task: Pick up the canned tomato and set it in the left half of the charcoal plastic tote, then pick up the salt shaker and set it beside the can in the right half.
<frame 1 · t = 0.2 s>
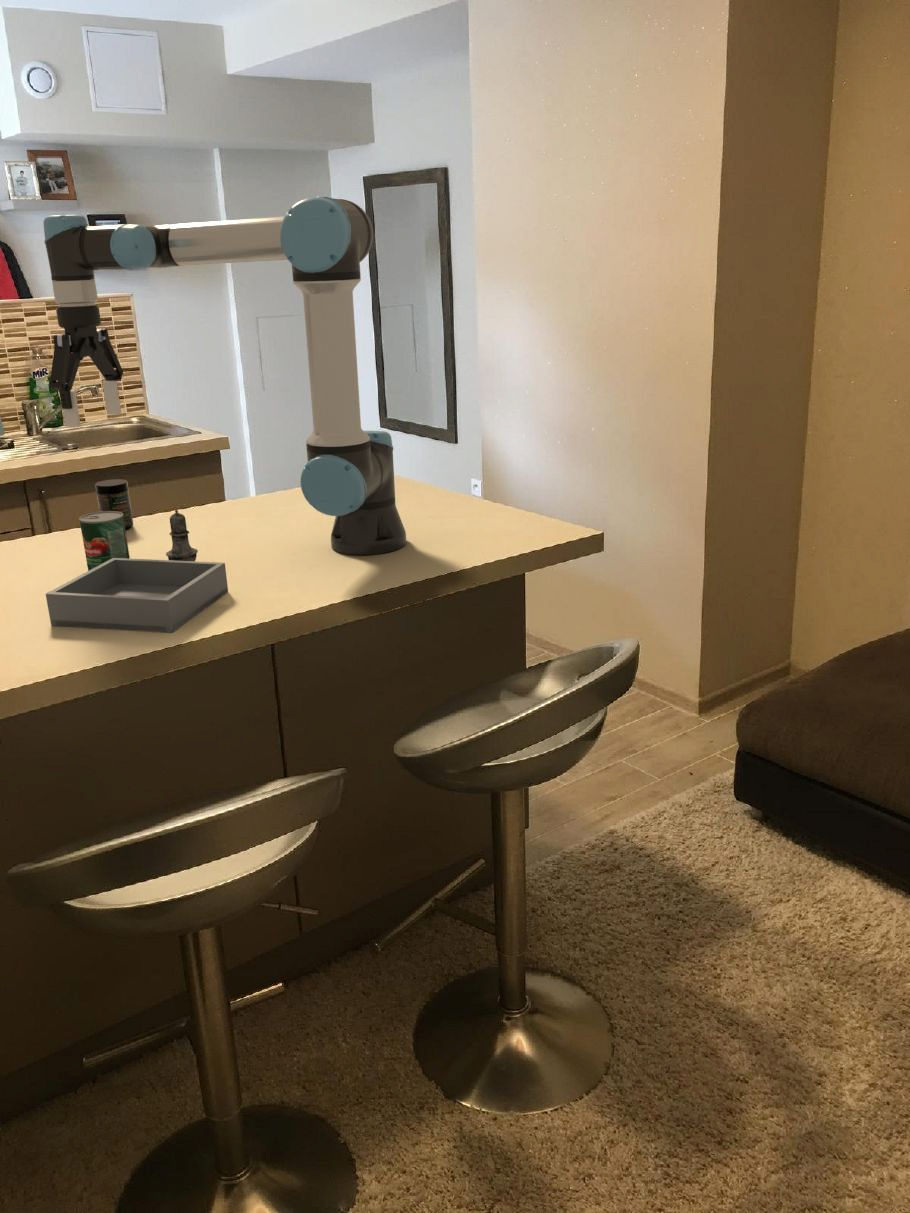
hand: (94, 420, 194), 27 cm above the countertop, fingers open, 13 cm apart
canned tomato: (110, 573, 193), on the countertop
tote: (143, 608, 173), on the countertop
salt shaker: (184, 571, 193), on the countertop
supplement container: (118, 529, 223), on the countertop
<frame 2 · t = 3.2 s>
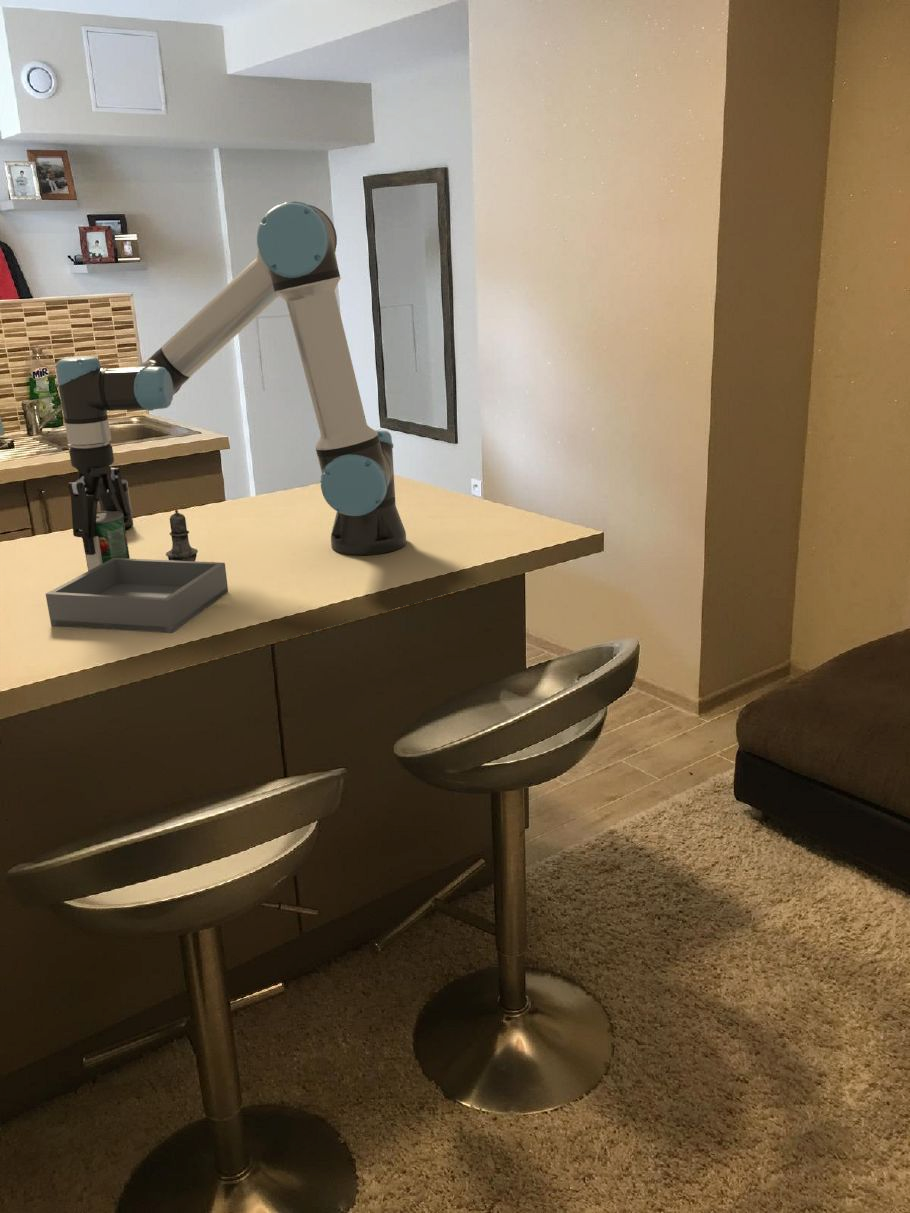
hand: (108, 563, 192), 2 cm above the countertop, fingers closed on canned tomato, 8 cm apart
canned tomato: (110, 572, 193), on the countertop, touching gripper
everything else where it was.
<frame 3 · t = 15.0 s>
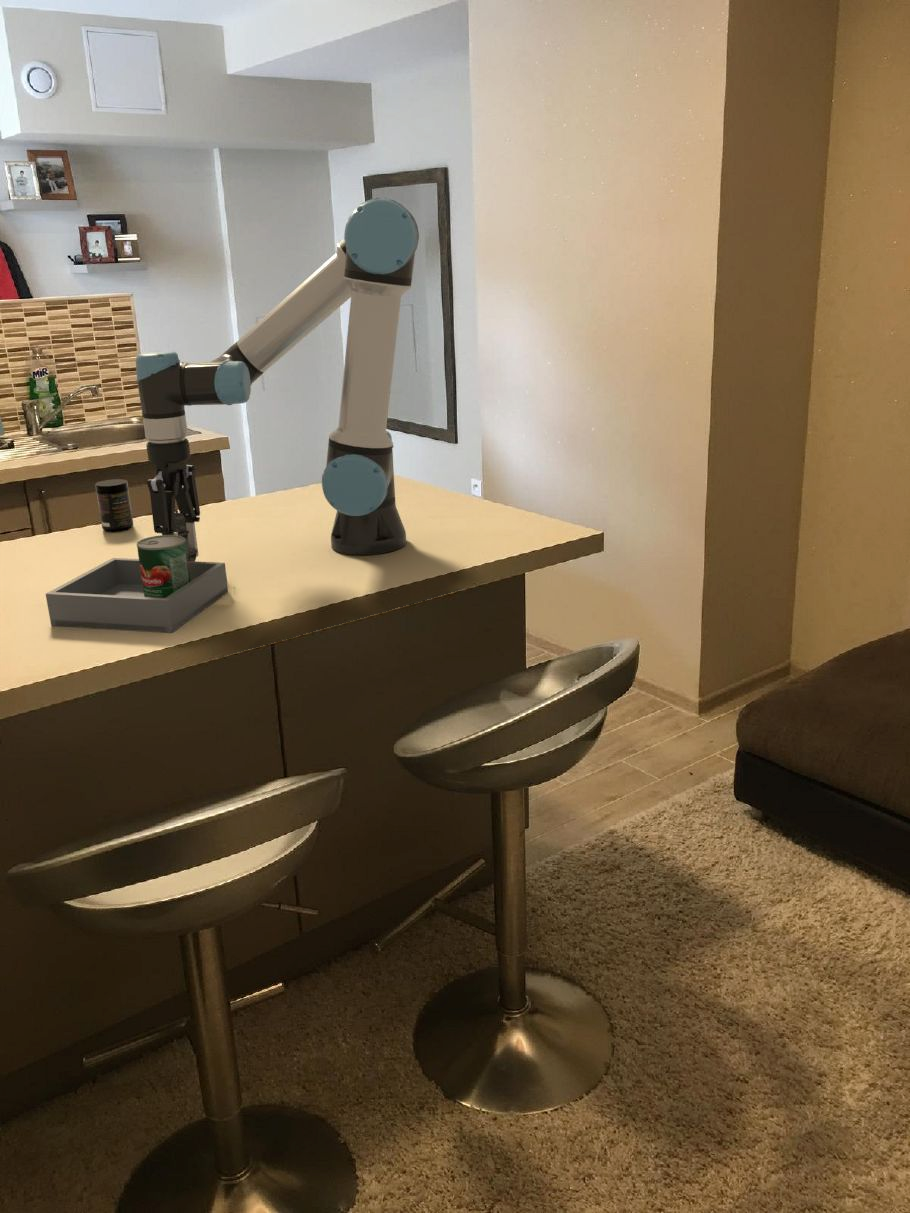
hand: (183, 560, 192), 2 cm above the countertop, fingers closed on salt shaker, 6 cm apart
canned tomato: (169, 604, 171), point 1 cm above the countertop, touching tote
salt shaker: (184, 571, 193), on the countertop, touching gripper
everything else where it was.
when the fingers open (5 cm above the countertop, at t = 21.1 s): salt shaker drops 2 cm, resting on tote.
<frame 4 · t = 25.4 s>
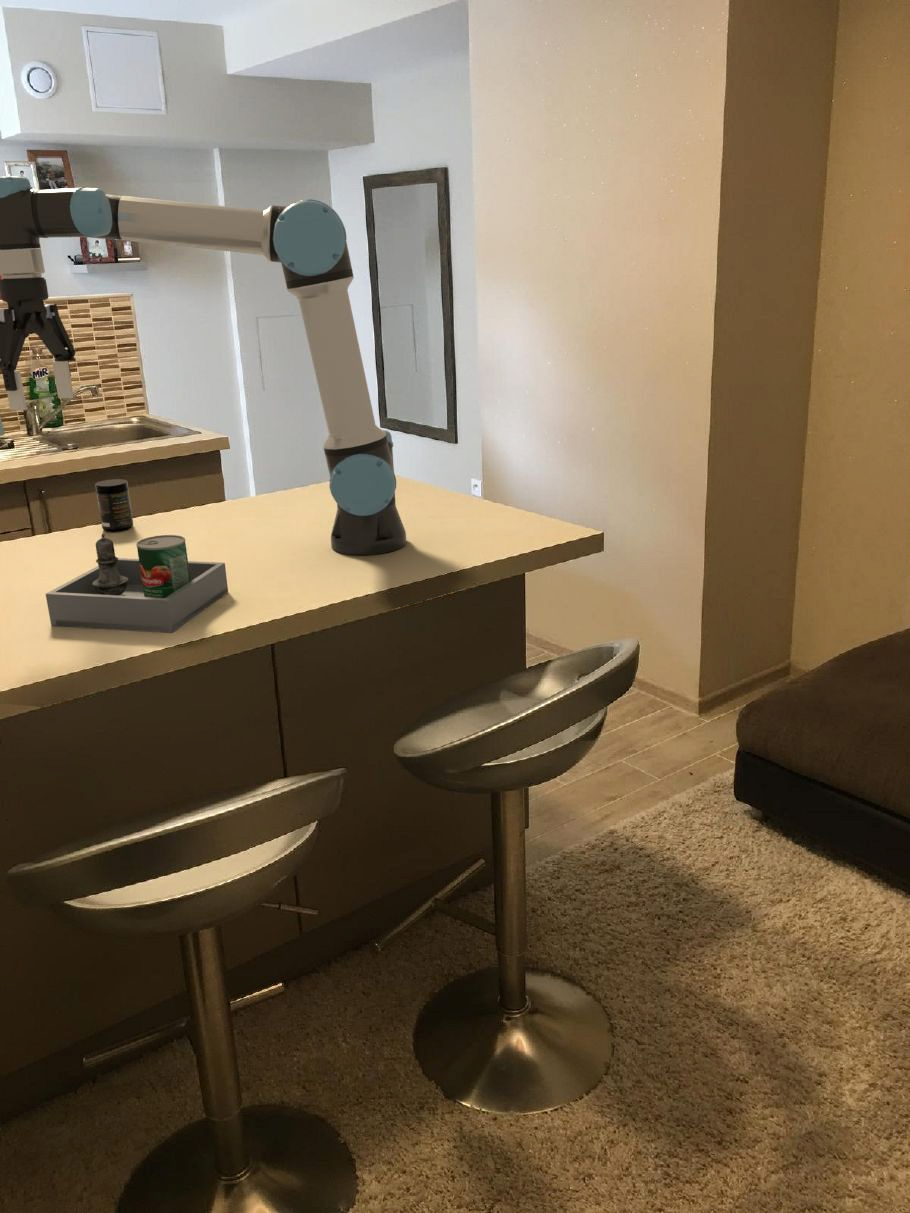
hand: (43, 404, 178), 33 cm above the countertop, fingers open, 13 cm apart
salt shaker: (113, 602, 174), point 1 cm above the countertop, touching tote
everything else where it was.
at the end: canned tomato inside the target area on the tote (5.0 cm from its centre), point 0.8 cm above the tote's base; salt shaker inside the target area on the tote (5.5 cm from its centre), point 0.8 cm above the tote's base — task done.
